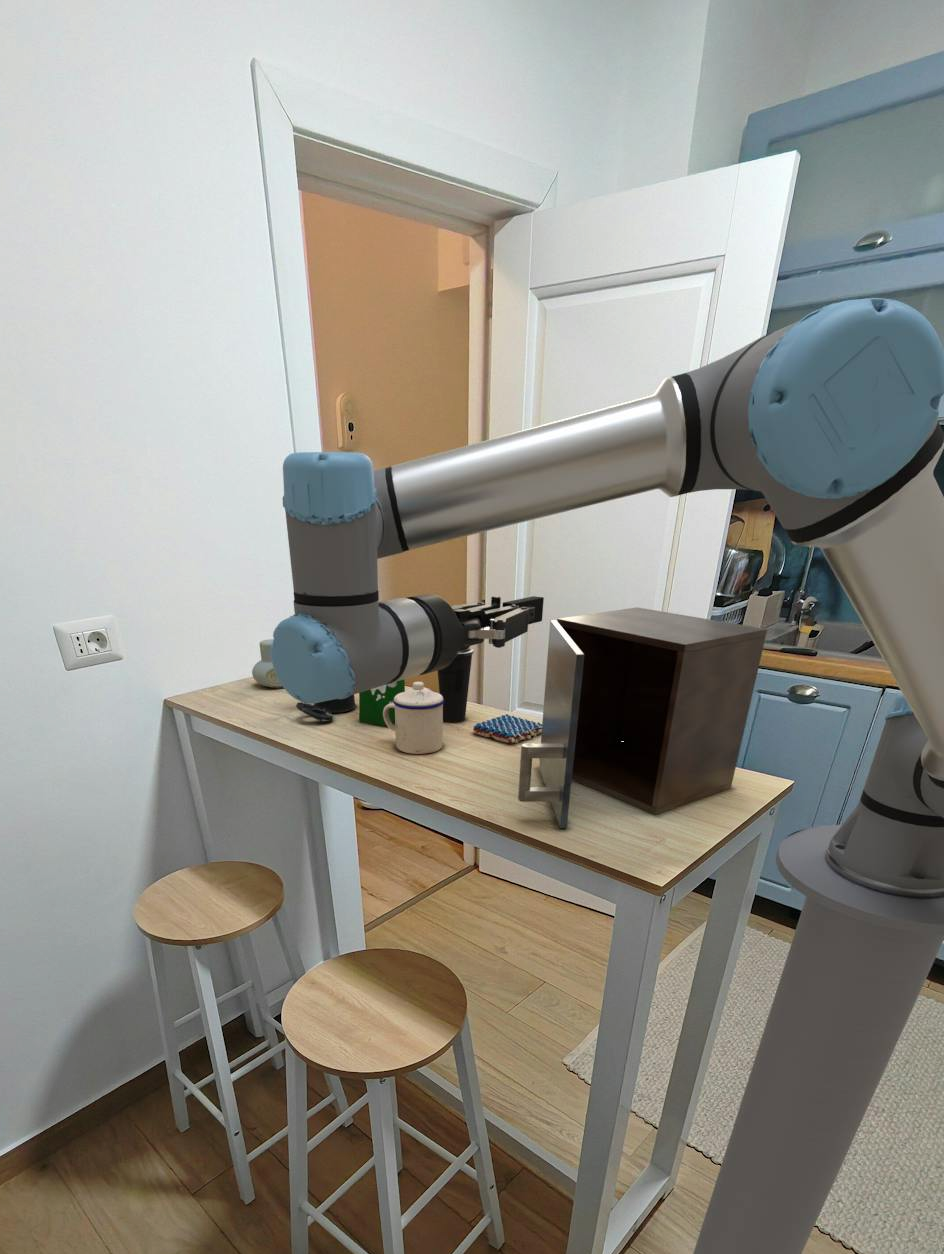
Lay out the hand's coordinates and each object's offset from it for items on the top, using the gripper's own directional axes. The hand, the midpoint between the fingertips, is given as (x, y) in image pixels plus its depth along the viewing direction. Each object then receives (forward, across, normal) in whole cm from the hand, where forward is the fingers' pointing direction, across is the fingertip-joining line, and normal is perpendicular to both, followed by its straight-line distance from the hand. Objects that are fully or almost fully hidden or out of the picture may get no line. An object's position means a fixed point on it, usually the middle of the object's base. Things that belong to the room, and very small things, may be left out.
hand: (537, 608), depth 87 cm
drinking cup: (+33, -40, -29) cm, 59 cm away
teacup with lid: (+16, -35, -29) cm, 48 cm away
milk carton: (+24, -50, -29) cm, 63 cm away
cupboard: (+27, +4, -29) cm, 40 cm away
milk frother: (+20, -63, -29) cm, 72 cm away
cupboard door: (+9, -4, -29) cm, 31 cm away
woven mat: (+33, -25, -29) cm, 51 cm away
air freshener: (+28, -90, -29) cm, 98 cm away
